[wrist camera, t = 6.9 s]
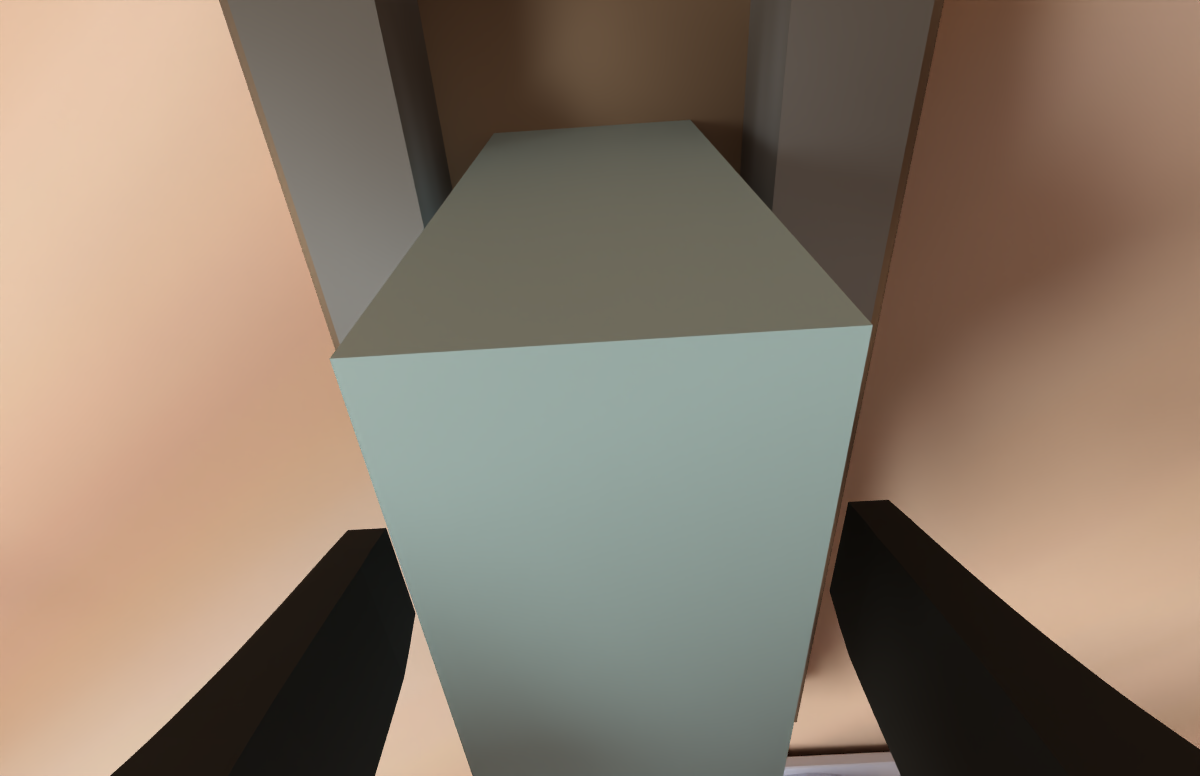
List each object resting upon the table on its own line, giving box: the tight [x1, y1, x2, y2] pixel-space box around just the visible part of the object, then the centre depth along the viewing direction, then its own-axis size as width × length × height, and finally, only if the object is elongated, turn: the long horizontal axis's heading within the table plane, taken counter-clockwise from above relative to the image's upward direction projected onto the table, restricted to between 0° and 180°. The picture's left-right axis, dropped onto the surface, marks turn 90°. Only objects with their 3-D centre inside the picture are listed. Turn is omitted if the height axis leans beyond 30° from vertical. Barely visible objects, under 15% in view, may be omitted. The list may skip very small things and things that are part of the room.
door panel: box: [330, 120, 873, 776], centre depth 9 cm, size 10×3×7 cm, turn 4°
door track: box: [219, 0, 944, 722], centre depth 12 cm, size 22×10×3 cm, turn 3°
